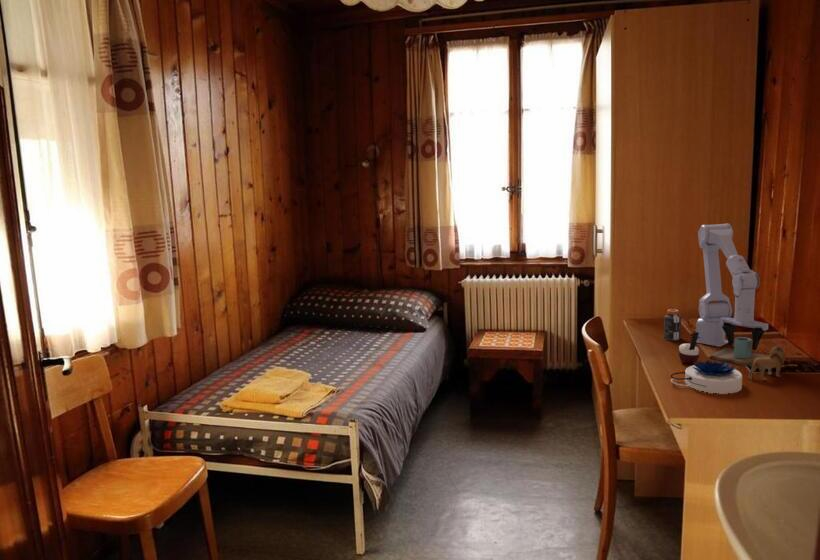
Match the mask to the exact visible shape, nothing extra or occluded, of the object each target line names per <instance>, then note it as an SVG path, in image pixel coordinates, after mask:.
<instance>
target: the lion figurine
mask: <svg viewBox="0 0 820 560" xmlns="http://www.w3.org/2000/svg"><path fill="white" fill-rule="evenodd" d="M785 352H786V350H785V349H783V347H782V346H779V345H774V346H773V347H771V350H770V353H769V355H768V356H769V357H767V358H761V357H760V358H756V359H755V360H754V361H753V365H752V367H751V369H750V370H749V371H748V376H747V377H748V379H750V381H753V380H754V372H755V371H756V370H757V369H758V370H759V376H760V378H761V379H762V381H768V379H767V377H765V375H764V374H765V371H766V370H767V375H769V376H771V375H773V373H772V370H773V369H774V368H775V369H776V370H775V376H776V377H777V378H780V377H782V376H781V374H780V372H781V366H782V365H784V363H785V359H786V353H785ZM757 367H758V368H757Z"/></svg>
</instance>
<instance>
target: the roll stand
mask: <svg viewBox="0 0 820 560" xmlns="http://www.w3.org/2000/svg"><path fill="white" fill-rule="evenodd" d="M769 356H770V355H769V354H768V355H767V354H761V353H756V352H753V351H751V357H750V358H737V357H735V356H734V348H731V347H725V348H722V349H721V350H718V351H717V352H714V353H713V354H711V355H710V356H709V357H710V359H712V360H715V361H716V360H717V361H721V362H722V361H723V362H726V363H731V364H737V365H740V366H745V367H746V366H747V367H751V368H752V365H753V361H754V360H755V359H756V358H760V357H761V358H767V357H769ZM756 369H759V368H758V367H757V368H756Z"/></svg>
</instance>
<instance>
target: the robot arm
mask: <svg viewBox="0 0 820 560" xmlns="http://www.w3.org/2000/svg"><path fill="white" fill-rule="evenodd" d="M697 235H698V238H697V239H698V244H699V248H700V249H702V254H703V267H704V277H705V278H704V279H705V289H706V294H704V295H703V296H702V297H701V298H699V304H698V305H699V306H698V313H699V316H700V317H699V318H698V319H697V321H696V323H695V332H698V333H699V334H698V338H697V342H696V344H703V345H709V346H714V347H719V348H721V347H722V346H724V345H727V344H728V346H729V347H730V346H734V338H735V330H736V326H738V327H745V328H751V336H752V344H751V351H752V350H753V351H756V350H757V349H758V346H759V343H760V341H761V338H762V336H763V335H764V334H765V332H766V331H767V330H769V323H766V322H760V321H757V320H755V319H754V317H755V302H756V301H755V298H756V297H755V296H756V290H757V289H758V288H759V287H760V277H759V274H758V273H757V272H756V271H754V270H753V269H751V268H750V267H749V265H748V264H747V262H746V260H745V257H744V256H743V255H739V254H738V251H737V249H736V246H735V243H734V242H733V235H734V231H733V227H732V226H731V224H730V223H720V224H702V225H700V227H699V229H698V232H697ZM719 250H721V251H722V253H723V255H724V256H725V258H726V259H727V260H726V262H725V265H726V267H727V269H728V271H729V272H730V275H731V277H732V280H731V284H732V288H733V295H734V297H735V298H734V316H733V317H731V316H732V313H733V308H732V304H731V302H730V297H728V296H727V295H726V294H724V293H723V290H722V289H723V288H722V277H721V276H722V275H721V268H720V256H719ZM726 338H727V340H726Z"/></svg>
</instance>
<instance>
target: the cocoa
mask: <svg viewBox="0 0 820 560" xmlns="http://www.w3.org/2000/svg"><path fill="white" fill-rule="evenodd" d="M692 333H693V334H692V337H691V340H690V343H681V344H680V345H679V346H678V355H679V360H680V361H681V362H684V364H685V365H686V364H687V365H695V364H694V363H693V362H696V363H698V361H699V358H700V349H699V347H698V346H696V345H697V338H698V334H699V333H698V332H696V331H695V332H692Z"/></svg>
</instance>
